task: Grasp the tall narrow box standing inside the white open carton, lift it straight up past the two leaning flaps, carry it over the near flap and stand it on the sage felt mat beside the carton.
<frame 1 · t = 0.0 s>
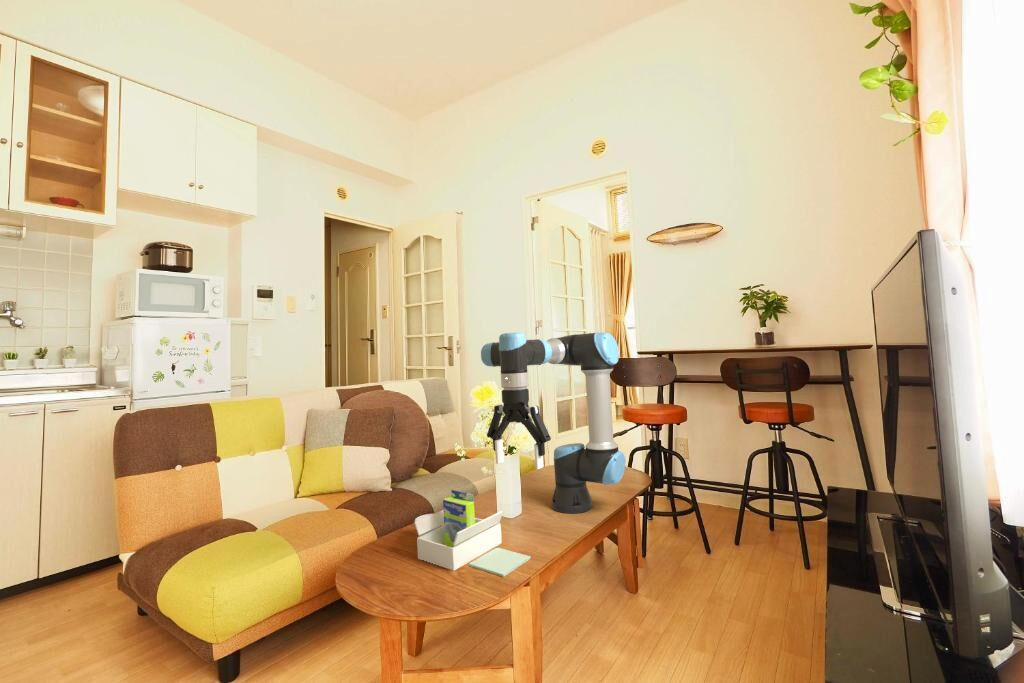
hand: (519, 465, 128), 28 cm above the table, fingers open, 13 cm apart
carton: (461, 550, 140), on the table
box: (461, 551, 140), resting in carton
mat: (500, 562, 131), on the table
flap near: (479, 527, 136), point 8 cm above the table, hinge at -25.0°
flap far: (441, 517, 145), point 8 cm above the table, hinge at 25.0°
candle: (429, 538, 152), on the table
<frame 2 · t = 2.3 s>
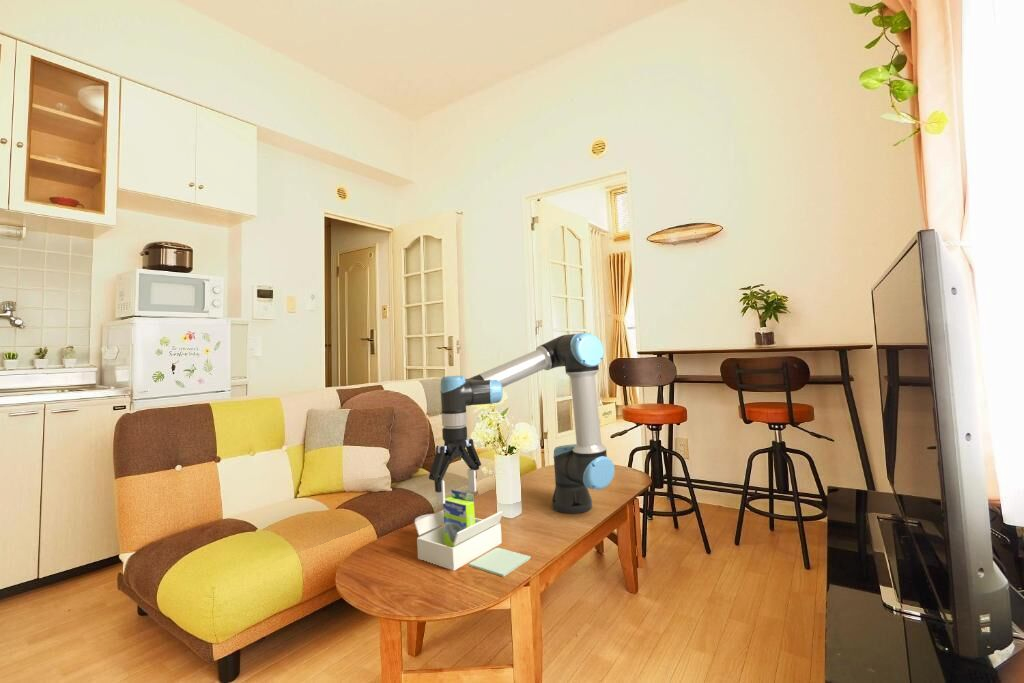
hand: (457, 496, 141), 16 cm above the table, fingers open, 13 cm apart
nothing on the table moved.
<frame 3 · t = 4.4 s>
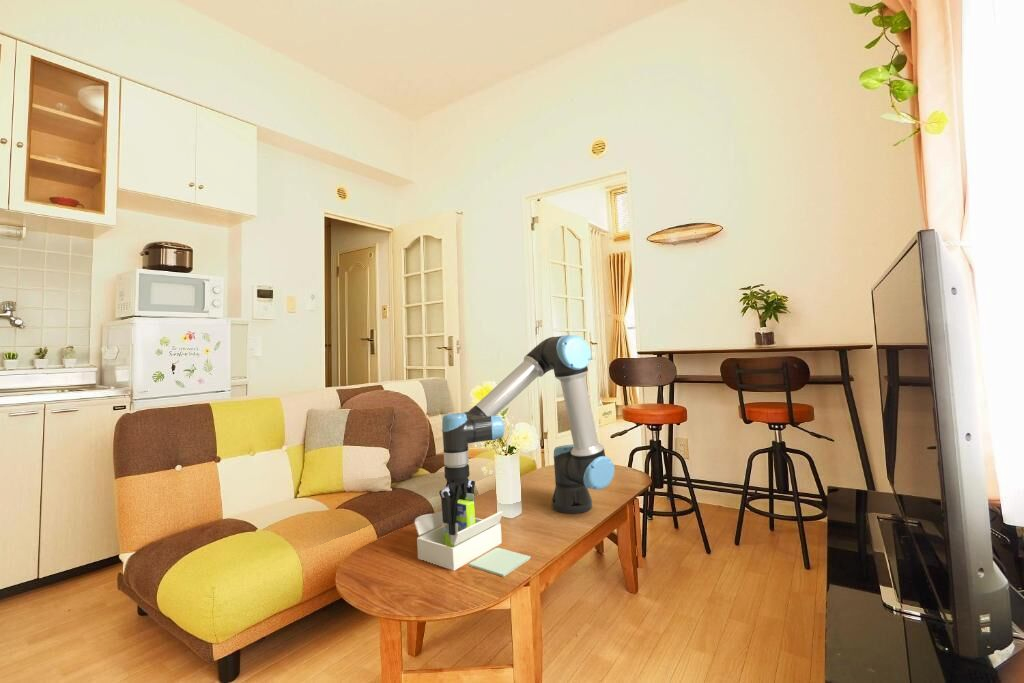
hand: (460, 541, 140), 3 cm above the table, fingers closed on box, 4 cm apart
box: (461, 551, 140), resting in carton, touching gripper
everything else where it was.
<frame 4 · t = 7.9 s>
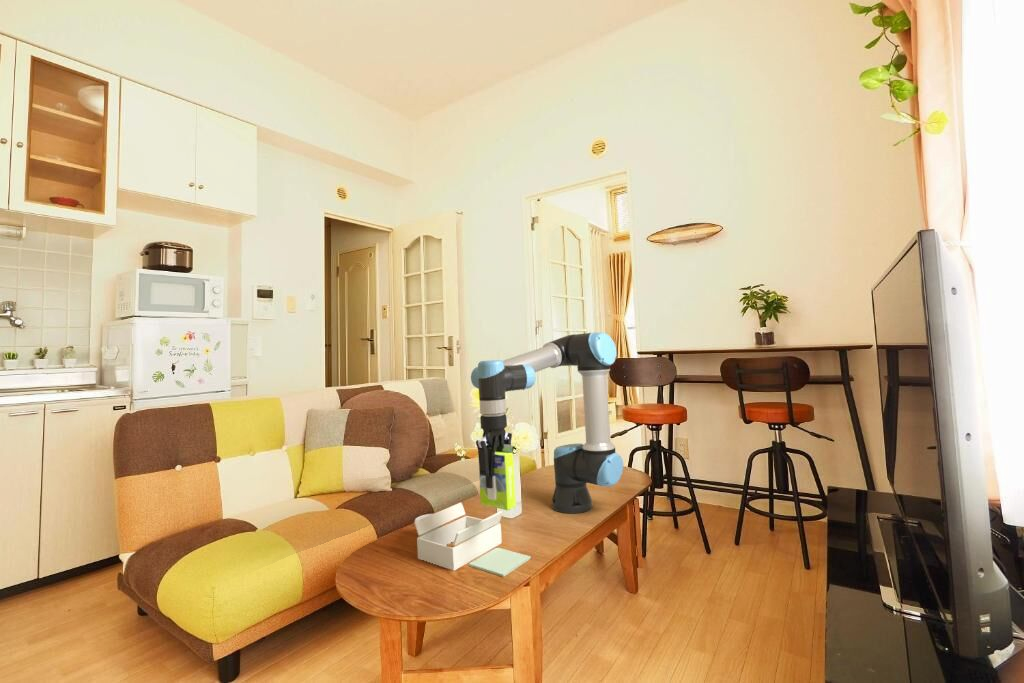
hand: (497, 496, 131), 19 cm above the table, fingers closed on box, 4 cm apart
box: (498, 506, 131), point 16 cm above the table, touching gripper
everything else where it was.
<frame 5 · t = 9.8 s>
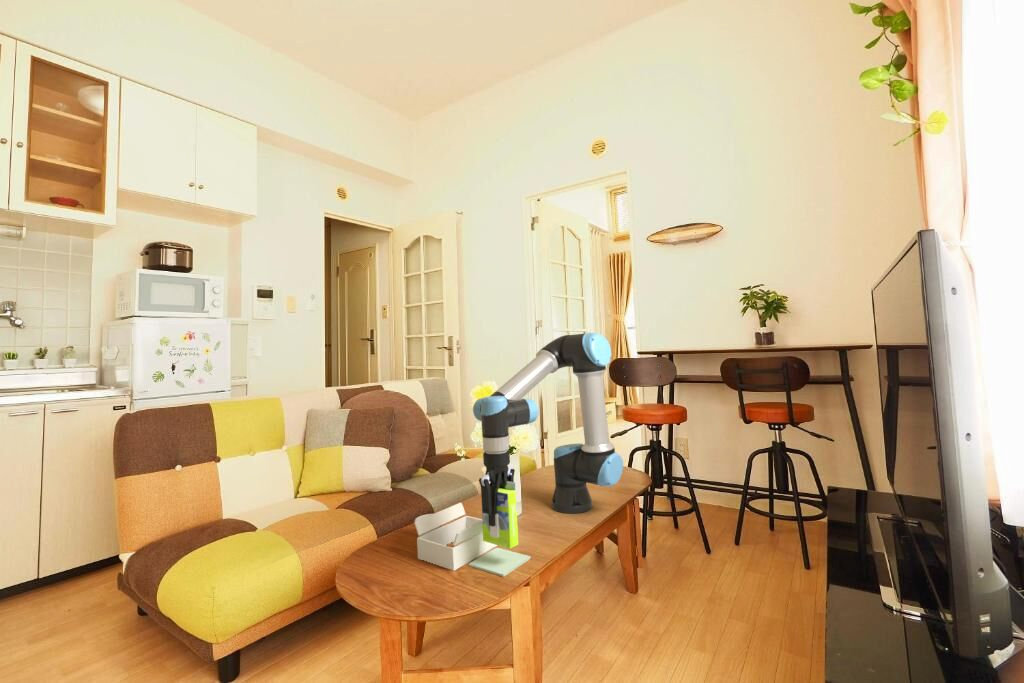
hand: (500, 533, 131), 8 cm above the table, fingers closed on box, 4 cm apart
box: (500, 543, 131), point 5 cm above the table, touching gripper
everything else where it was.
when the fingers open (4 cm above the table, at t = 11.3 s): box stays where it is, resting on mat.
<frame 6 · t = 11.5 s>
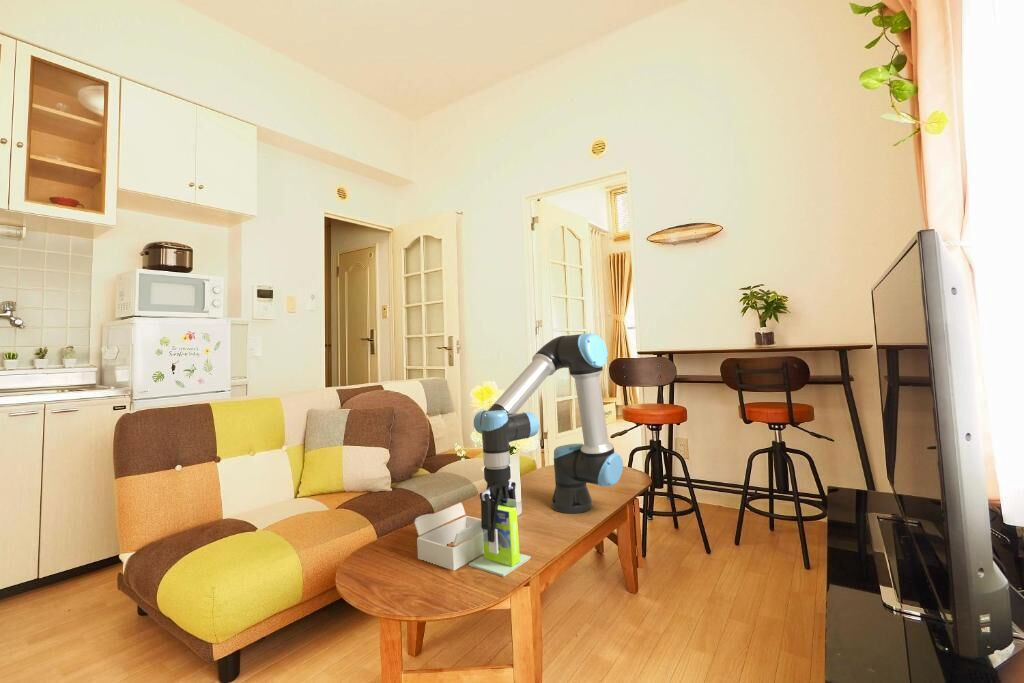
hand: (501, 547, 131), 4 cm above the table, fingers open, 6 cm apart
box: (502, 561, 131), resting on mat
everything else where it was.
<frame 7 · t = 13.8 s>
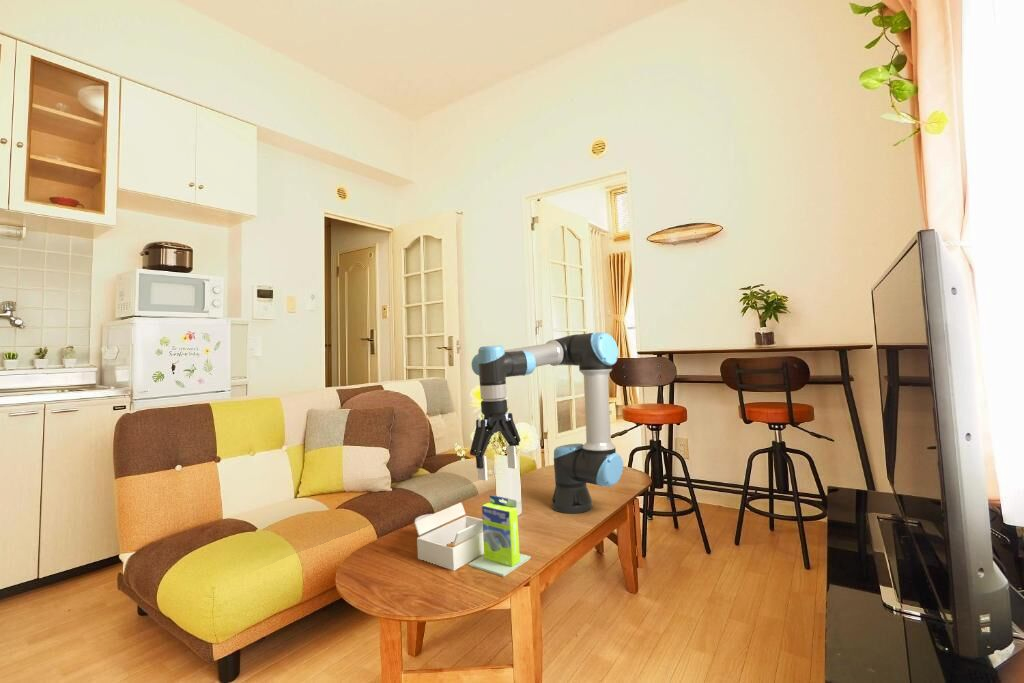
hand: (498, 473, 132), 25 cm above the table, fingers open, 13 cm apart
nothing on the table moved.
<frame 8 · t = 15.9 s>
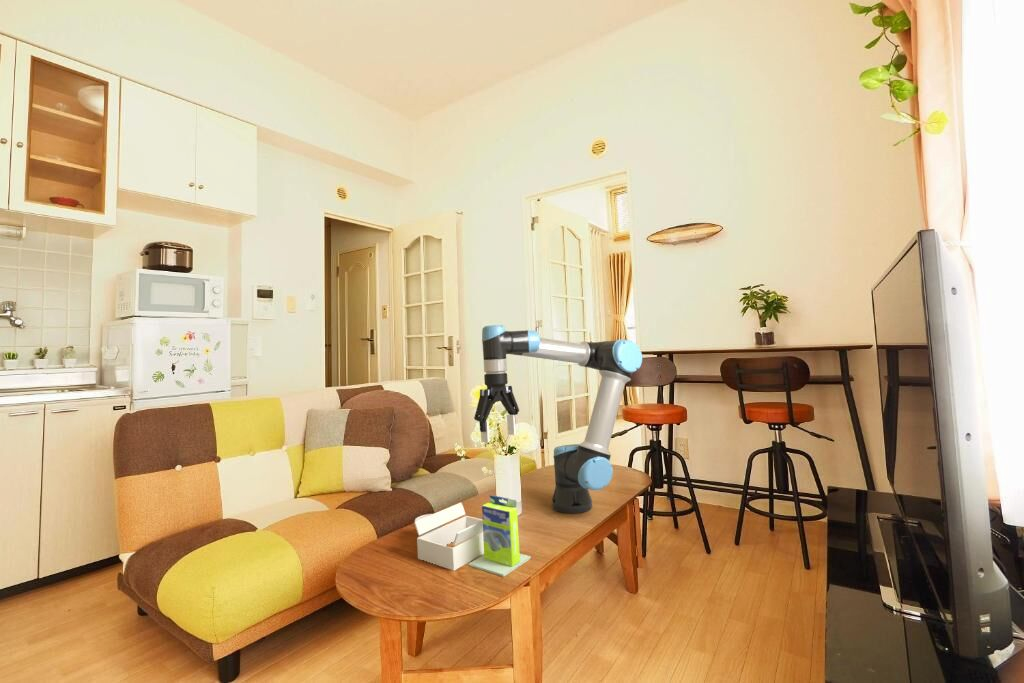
hand: (499, 438, 150), 32 cm above the table, fingers open, 13 cm apart
nothing on the table moved.
at the end: box inside the target area (0.1 cm from its centre), resting on mat; box tilted 0°; the gripper is holding nothing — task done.
